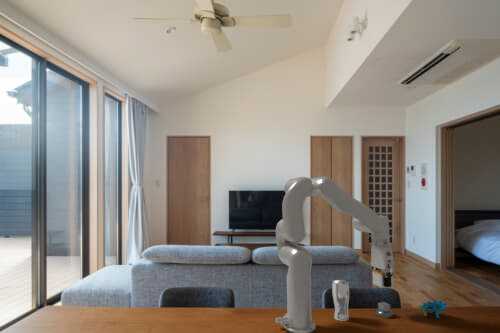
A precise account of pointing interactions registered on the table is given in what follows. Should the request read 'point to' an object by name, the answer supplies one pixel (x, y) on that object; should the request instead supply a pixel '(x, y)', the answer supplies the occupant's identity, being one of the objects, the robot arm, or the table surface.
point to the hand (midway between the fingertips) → (382, 284)
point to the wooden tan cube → (380, 278)
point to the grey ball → (384, 310)
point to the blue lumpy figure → (433, 307)
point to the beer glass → (341, 299)
